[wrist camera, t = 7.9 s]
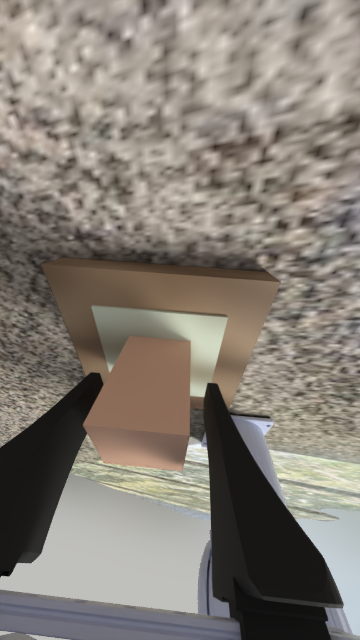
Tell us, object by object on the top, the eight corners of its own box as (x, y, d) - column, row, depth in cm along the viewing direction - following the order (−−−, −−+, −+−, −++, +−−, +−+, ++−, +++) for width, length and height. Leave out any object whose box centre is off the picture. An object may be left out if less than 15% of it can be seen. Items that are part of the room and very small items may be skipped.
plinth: (224, 393, 18) (228, 413, 17) (104, 383, 19) (94, 401, 17) (267, 271, 11) (282, 283, 9) (63, 256, 11) (38, 265, 9)
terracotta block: (185, 380, 14) (182, 470, 9) (135, 375, 14) (104, 462, 9) (190, 341, 12) (189, 435, 7) (129, 335, 12) (82, 425, 7)
